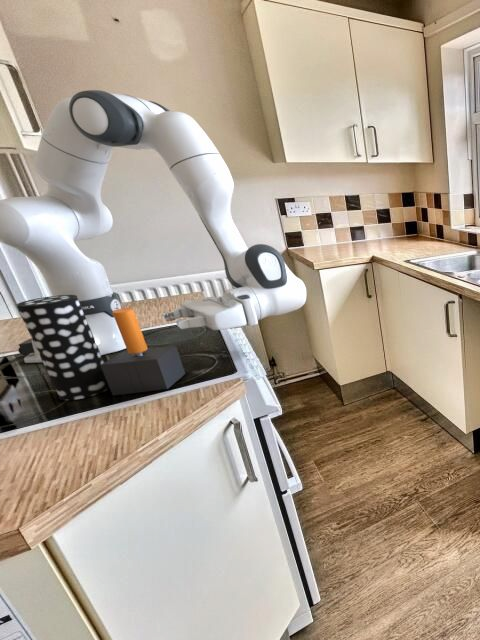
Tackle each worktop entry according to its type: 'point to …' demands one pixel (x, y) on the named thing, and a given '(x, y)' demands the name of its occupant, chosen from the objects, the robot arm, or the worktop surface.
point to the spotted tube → (65, 345)
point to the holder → (143, 370)
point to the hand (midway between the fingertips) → (170, 321)
